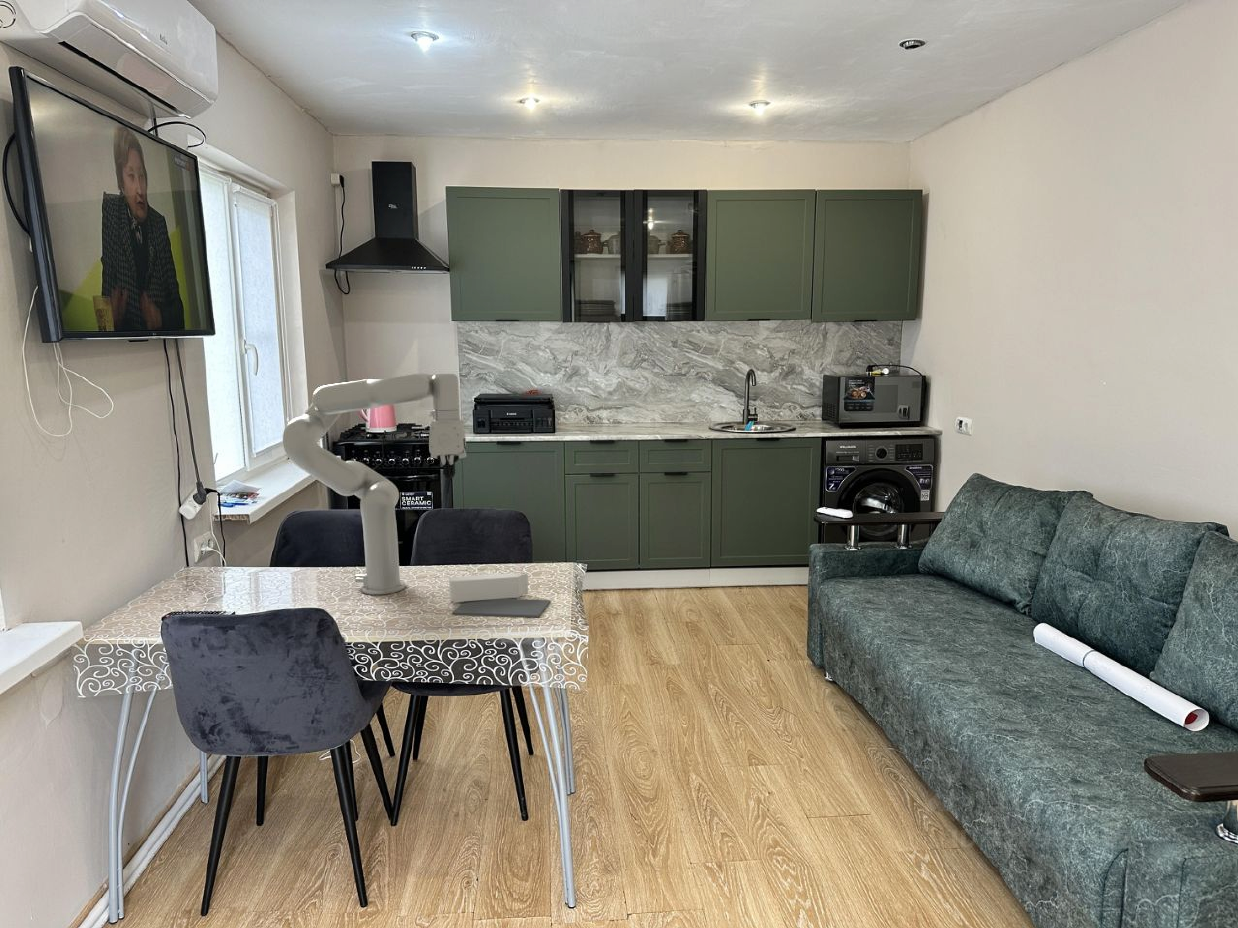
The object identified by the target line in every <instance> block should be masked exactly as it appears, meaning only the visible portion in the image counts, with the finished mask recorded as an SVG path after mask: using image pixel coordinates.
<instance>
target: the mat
mask: <svg viewBox="0 0 1238 928" xmlns="http://www.w3.org/2000/svg"><path fill="white" fill-rule="evenodd" d="M550 603H551V600H550V599H528V598H527V599H526V598H525V599H524V598H517V599H516V598H503V599H490V600H477V601H464V602H461V604H459V605H458V606H457V607H456V608H455V609H454V610H453V611H452V612H451V615H452V616H453V615H455V616H480V617H481V616H483V617H485V616H486V617H504V618H505V617H509V618H511V617H512V618H537V619H538V618H540V617H541V615H542V614H543V613H544V611H545V610H546V609H547V607H548V606H549V605H550Z"/></svg>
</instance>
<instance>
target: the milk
mask: <svg viewBox="0 0 1238 928" xmlns="http://www.w3.org/2000/svg"><path fill="white" fill-rule="evenodd" d="M448 579H449V581H448V583H449V584H448V585H449V587H448V588H449V590H448V591H449V599H450V601H451V603H460V602H461V603H463V602H464V601H477V600H490V599H516V598H517V599H518V598H520V597H522V596H524V595H528V594H529V585H528V584H529V582H528V581H529V577H528V574H527V573H524V574H522V573H516V572H506V573H496V574H494V573H493V574H492V573H491V574H481V575H479V574H478V575H465V576H461V575H460V576H450V577H448Z"/></svg>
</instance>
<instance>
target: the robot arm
mask: <svg viewBox="0 0 1238 928" xmlns="http://www.w3.org/2000/svg"><path fill="white" fill-rule="evenodd" d="M459 394H460V390H459V379H458V376H457V375H456V374H455V373H436V374H429V373H428V374H427V373H420V372H419V373H413V374H407V375H400V376H395V377H388V378H378V379H377V378H376V379H375V378H367V379H361V380H359V379H358V380H353V381H352V380H351V381H347V382H341V383H339V382H338V383H333V384H327V385H322V386H320V387H317V388H316V389H315V390H314V392H313V394H312V399H311V402H312V403H311V405H310V406H309V407H308V408H307V410H305V412H304V413H303V414H302V415H301V416H298V417H295V418H293V419H291V420H290V421H288V423H287V424H286V426H285V427H284V430H283V433H282V447H283V449H284V452H285V453H286V456H287V458H288V459H289V460H290V461H291V462H292V463H293V464H294V465H295V466H296V467H298V468H299V469H301V470H302V471H304V472H305V473H307V474H308V475H310V476H311V477H313V478H315V480H317V481H318V482H321V483H323V484H324V485H325V486H327V487H328V488H330V489H331V490H333V491H334V492H335V493H337V494H339V495H341V496H344V497H350V496H353V495H354V496H356V497H357V498H358V499H359V500H360V501H359V503H360V504H359V506H360V507H359V508H360V515H361V521H362V530H363V542H364V543H363V546H364V557H365V558H364V561H365V574H362V573H361V574H357V573H356V574H355V575H354V582H355V583H362V584H363V585H362V586H361V593H364V594H367V595H388V594H394V593H397V592H400V591H402V590H404V589H406V582H405V581H404V580H401V576H400V574H401V573H400V562H399V561H400V559H399V541H398V540H399V539H398V530H397V529H398V528H397V519H396V517H397V516H396V505H397V504H398V501H399V499H400V492H399V489H398V488H397V486H396V485H395V484H394V483H393V481H390V480H389V479H388V478H386V477H384V476H383V475H382V474H380V473H378V472H377V471H375V470H374V469H372V468H370V467H369V466H368V465H366V464H364V463H362V462H360V461H357V460H346V461H345V460H343V459H341V458H340V457H338V456H337V455H335V454H334V453H332V452H331V451H329V450H327V449H325V448H324V447H322V446H320V445H319V444H318V442H319V441H320V440H321V439H322V438H323V437H324V436H325V435H326V434H327V433H328V431H329V430H330V428H331V427H333V425H334V424H335V422H336V421H337V420H338V419H339V417H340V416H341V415H342V413H343V414H344V413H350V412H356V411H364V410H369V409H376V408H381V407H385V406H390V405H391V406H392V405H397V404H404V403H405V404H406V403H411V402H417V401H421V400H424V399H427V398H432V409H433V410H432V411H430V412H429V413H428V414H429V417H432V419H433V420H431V421H430V424H429V425H430V426H429V434H428V435H429V436H428V439H429V440H428V447H429V448H428V449H429V453H430V458H432V459H437V460H438V461H440V463H441V464H442V466H443V468H442V469H443V475H444V478H445V479H452V478H454V477H455V475H456V466H455V465H456V464H457V462H458V461H459V459H464V458H467V456H468V455H467V452H466V451H467V440H466V439H467V438H466V432H465V428H464V423H463V420H461V415H460V395H459Z"/></svg>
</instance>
